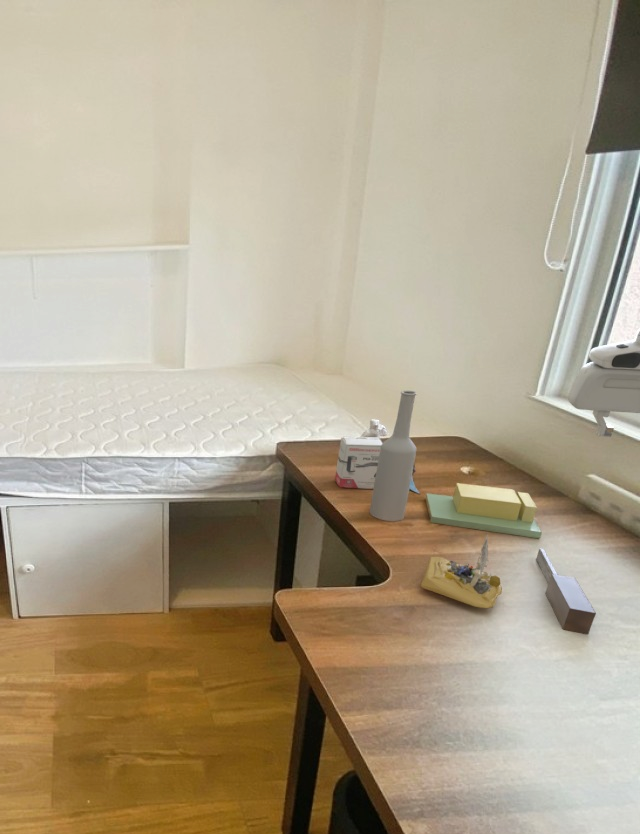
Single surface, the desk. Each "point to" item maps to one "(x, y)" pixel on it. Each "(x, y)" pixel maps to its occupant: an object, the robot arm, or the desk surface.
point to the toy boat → (463, 580)
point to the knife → (413, 483)
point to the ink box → (358, 462)
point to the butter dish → (475, 518)
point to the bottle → (395, 466)
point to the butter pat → (526, 507)
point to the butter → (486, 501)
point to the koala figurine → (375, 430)
